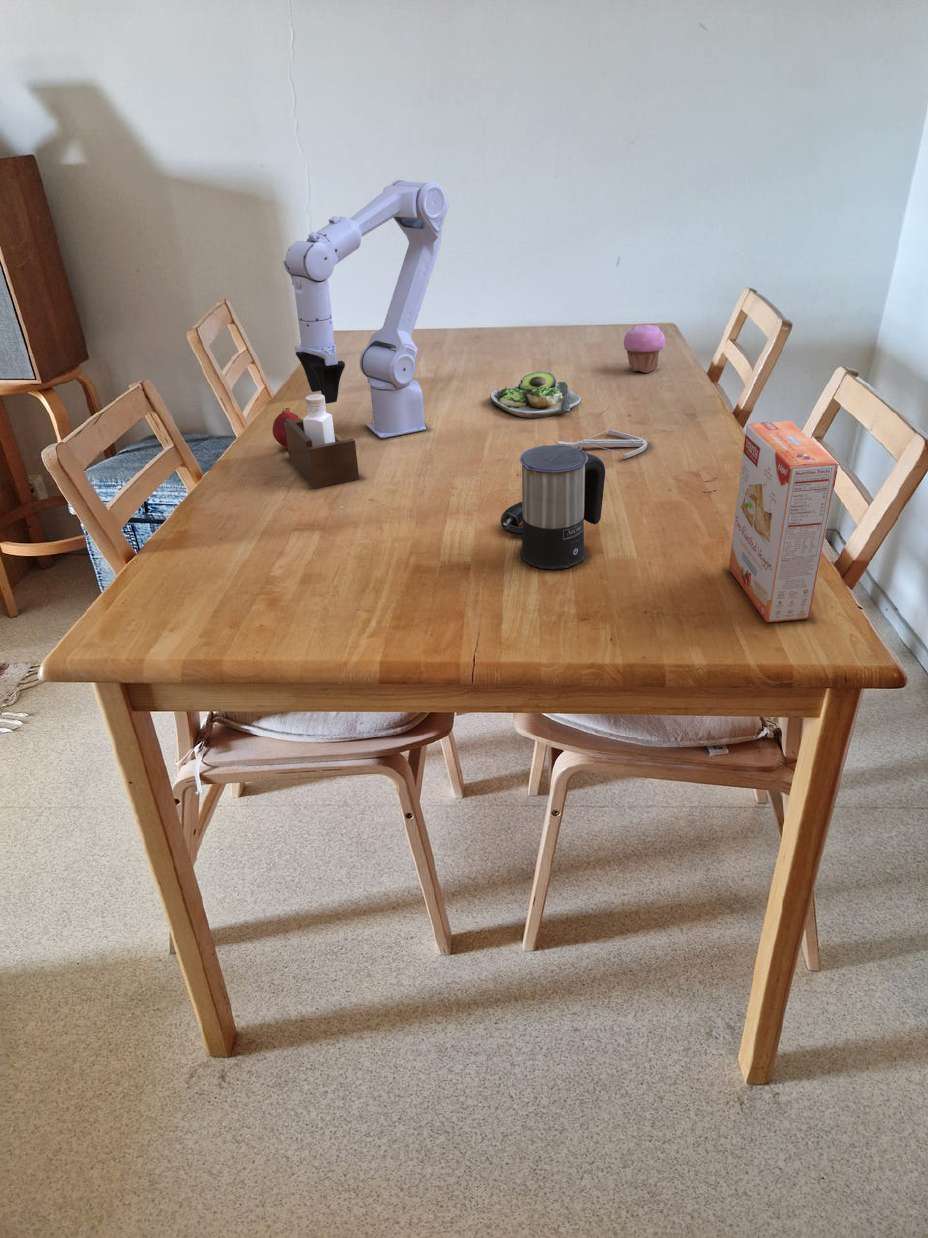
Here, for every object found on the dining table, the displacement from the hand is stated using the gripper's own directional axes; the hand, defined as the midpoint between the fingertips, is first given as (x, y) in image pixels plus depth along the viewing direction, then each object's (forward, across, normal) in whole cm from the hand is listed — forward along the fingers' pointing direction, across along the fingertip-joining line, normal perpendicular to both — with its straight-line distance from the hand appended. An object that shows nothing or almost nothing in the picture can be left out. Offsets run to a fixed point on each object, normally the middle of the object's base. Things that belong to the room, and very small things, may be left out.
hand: (324, 396), depth 159 cm
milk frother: (+11, +51, +15) cm, 54 cm away
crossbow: (+10, +24, +43) cm, 51 cm away
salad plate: (+10, -4, +45) cm, 47 cm away
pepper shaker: (+7, +7, -4) cm, 11 cm away
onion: (+11, -5, -6) cm, 13 cm away
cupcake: (+10, -11, +76) cm, 78 cm away
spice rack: (+10, +7, -4) cm, 13 cm away
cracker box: (+10, +78, +34) cm, 85 cm away
